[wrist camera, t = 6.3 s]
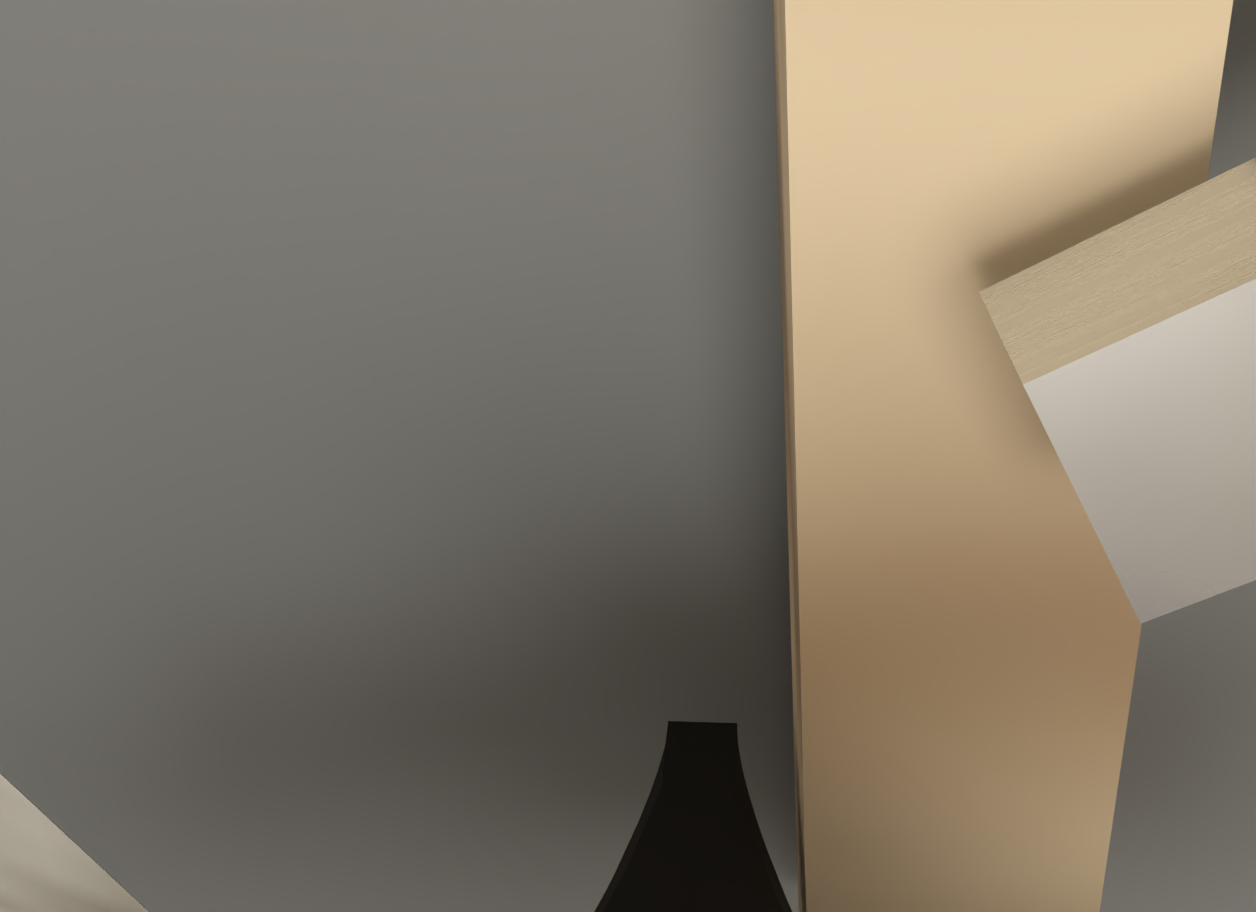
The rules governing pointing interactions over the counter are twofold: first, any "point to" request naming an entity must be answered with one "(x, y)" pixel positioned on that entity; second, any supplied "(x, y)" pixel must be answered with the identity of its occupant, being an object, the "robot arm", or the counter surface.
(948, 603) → the link
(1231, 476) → the keeper
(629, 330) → the base plate
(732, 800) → the robot arm
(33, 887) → the counter surface
